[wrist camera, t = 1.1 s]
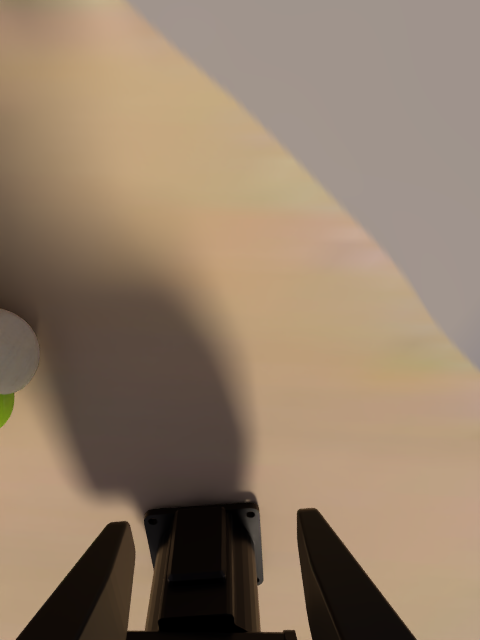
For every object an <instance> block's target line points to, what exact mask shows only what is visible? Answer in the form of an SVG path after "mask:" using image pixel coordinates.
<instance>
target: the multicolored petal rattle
mask: <svg viewBox="0 0 480 640" xmlns="http://www.w3.org/2000/svg"><path fill="white" fill-rule="evenodd" d="M39 359H40V347H39V343H38V340H37V337H36V335H35V333H34V331H33V330H32V328H31V327H30V326H29V324H28V323H27V322H26V321H25V320H24V319H22V318H21V317H19V316H17V315H16V314H14V313H12V312H10V311H7V310H4V309H0V428H1V427H2V426H3V425H4V424H5V423H6V421H7V420H8V419H9V417H10V415H11V413H12V410H13V406H14V392H17V391H19V390H21V389H22V388H23V387H25V386H26V385H27V384H28V383H29V381H30V380H31V379H32V377H33V376H34V374H35V372H36V370H37V367H38V364H39Z"/></svg>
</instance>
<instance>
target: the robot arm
mask: <svg viewBox="0 0 480 640" xmlns="http://www.w3.org/2000/svg"><path fill="white" fill-rule="evenodd" d="M250 511H252V512H250ZM152 518H154V519H152ZM144 525H145V530H146V534H147V539H148V544H149V549H150V554H151V559H152V564H153V568H154V575H153V581H152V587H151V594H150V600H149V607H148V613H147V619H146V626H145V631H127V628H128V619H129V610H130V601H131V592H132V583H133V574H134V565H135V546H134V541H133V537H132V532H131V528H130V525H129V523H128V522H126V521H121V522H111V523H109V524H108V525H107V526H106V527H105V528H104V529H103V531H102V532H101V533H100V534H99V536H98V537H97V538H96V539H95V541H94V542H93V543H92V544H91V546H90V547H89V548H88V549H87V551H86V552H85V553H84V554H83V556H82V557H81V558H80V559H79V561H78V562H77V563H76V564H75V566H74V567H73V568H72V569H71V571H70V572H69V573H68V575H67V576H66V577H65V578H64V580H63V581H62V582H61V583H60V585H59V586H58V587H57V588H56V590H55V591H54V592H53V593H52V595H51V596H50V597H49V598H48V600H47V601H46V602H45V603H44V605H43V606H42V607H41V608H40V610H39V611H38V612H37V613H36V615H35V616H34V617H33V618H32V620H31V621H30V622H29V623H28V625H27V626H26V627H25V628H24V630H23V631H22V632H21V634H20V635H19V636H18V637H17V639H16V640H297V637H296V633H295V630H283V632H261V630H260V615H259V601H258V587H257V585H260V584H262V582H263V564H262V547H261V530H260V513H259V507H258V505H257V504H255V503H236V504H222V505H208V506H194V507H179V508H165V509H152V510H149V511H147V512H146V514H145V518H144ZM297 542H298V550H299V558H300V565H301V572H302V580H303V587H304V594H305V602H306V609H307V615H308V621H309V626H310V631H311V636H312V640H417V639H416V638H415V637H414V635H413V634H412V633H411V631H410V630H409V629H408V628H407V626H406V625H405V624H404V622H403V621H402V620H401V618H400V617H399V616H398V614H397V613H396V612H395V611H394V609H393V608H392V607H391V605H390V604H389V603H388V601H387V600H386V599H385V597H384V596H383V595H382V593H381V592H380V591H379V590H378V588H377V587H376V586H375V584H374V583H373V582H372V580H371V579H370V578H369V576H368V575H367V574H366V573H365V571H364V570H363V569H362V567H361V566H360V565H359V563H358V562H357V561H356V559H355V558H354V557H353V555H352V554H351V553H350V552H349V550H348V549H347V548H346V546H345V545H344V544H343V542H342V541H341V540H340V538H339V537H338V536H337V535H336V533H335V532H334V531H333V529H332V528H331V527H330V525H329V524H328V523H327V521H326V520H325V519H324V517H323V516H322V515H321V514H320V512H319V511H318V510H317V509H315V508H306V509H299V510H298V511H297Z"/></svg>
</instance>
